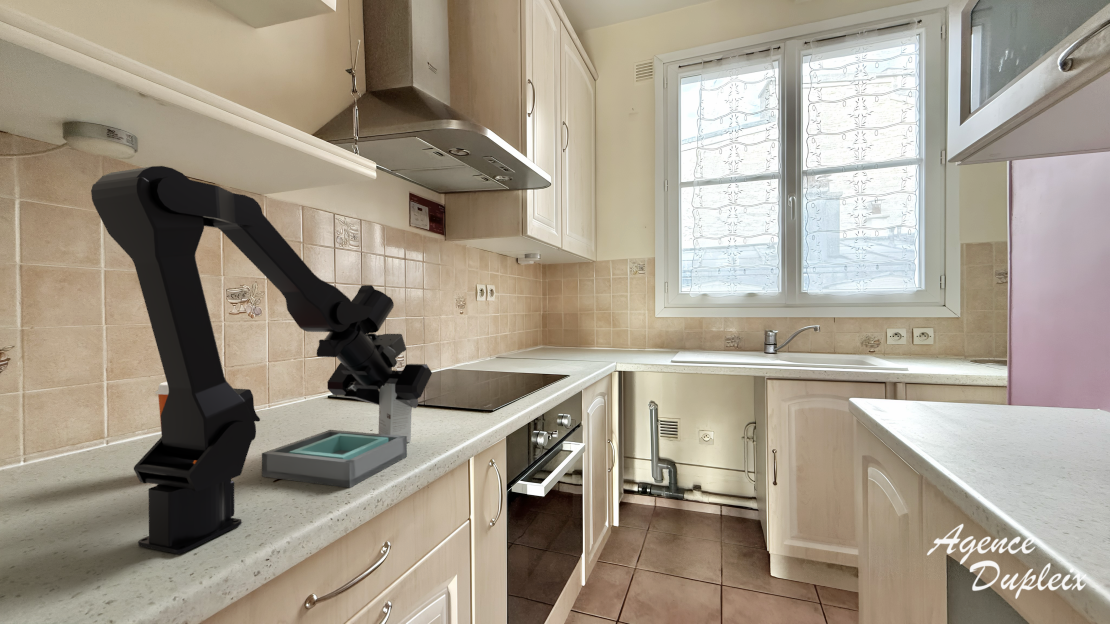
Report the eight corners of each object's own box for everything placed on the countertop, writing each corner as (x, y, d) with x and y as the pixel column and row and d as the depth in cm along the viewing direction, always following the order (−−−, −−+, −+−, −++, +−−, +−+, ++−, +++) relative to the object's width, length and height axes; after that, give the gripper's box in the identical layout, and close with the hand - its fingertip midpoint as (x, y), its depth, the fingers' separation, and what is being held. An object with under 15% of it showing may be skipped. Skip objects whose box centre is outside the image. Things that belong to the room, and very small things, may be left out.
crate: (349, 487, 59) (349, 462, 59) (262, 476, 63) (261, 453, 63) (406, 456, 71) (406, 436, 71) (330, 449, 75) (330, 429, 75)
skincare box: (377, 440, 81) (376, 377, 81) (400, 435, 84) (399, 374, 84) (389, 447, 76) (389, 380, 76) (413, 442, 79) (413, 378, 79)
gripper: (425, 319, 74) (457, 373, 84) (338, 319, 79) (379, 370, 89) (397, 369, 66) (436, 422, 77) (303, 366, 71) (351, 415, 82)
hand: (399, 404), depth 81 cm, fingers closed on skincare box, 7 cm apart
